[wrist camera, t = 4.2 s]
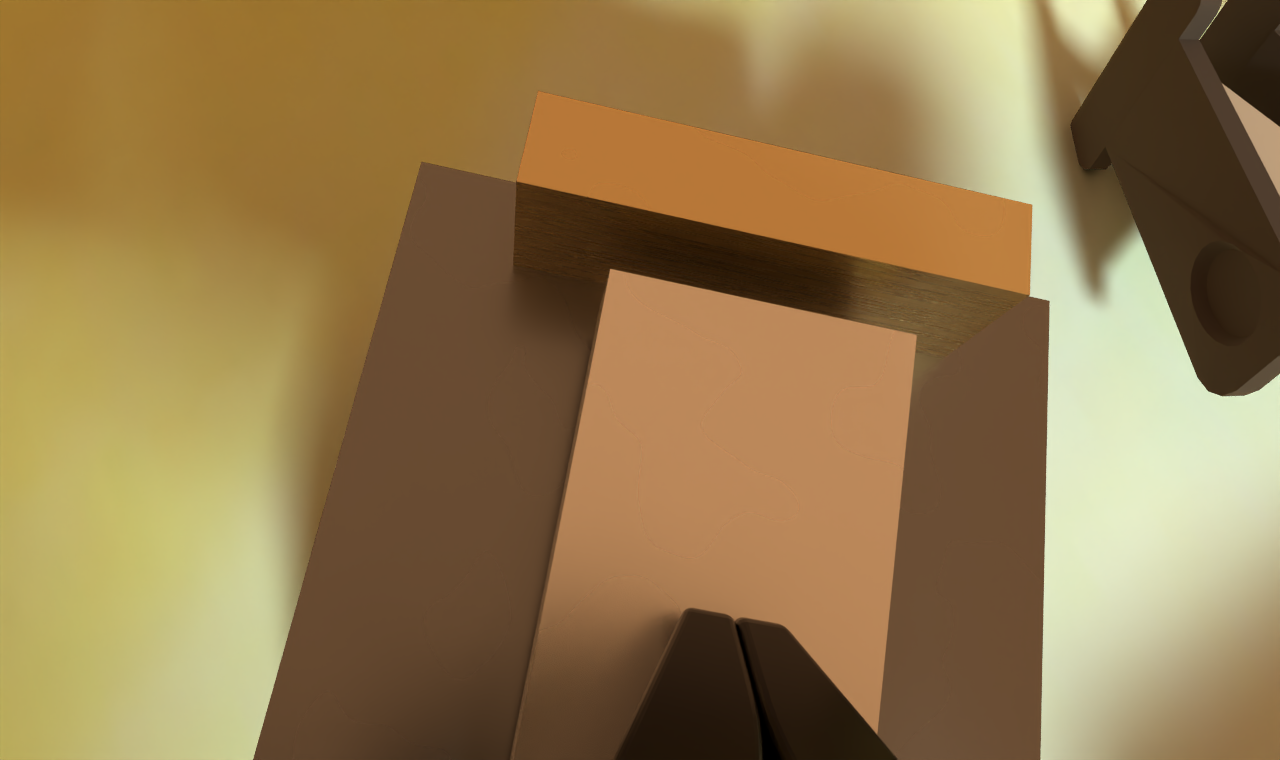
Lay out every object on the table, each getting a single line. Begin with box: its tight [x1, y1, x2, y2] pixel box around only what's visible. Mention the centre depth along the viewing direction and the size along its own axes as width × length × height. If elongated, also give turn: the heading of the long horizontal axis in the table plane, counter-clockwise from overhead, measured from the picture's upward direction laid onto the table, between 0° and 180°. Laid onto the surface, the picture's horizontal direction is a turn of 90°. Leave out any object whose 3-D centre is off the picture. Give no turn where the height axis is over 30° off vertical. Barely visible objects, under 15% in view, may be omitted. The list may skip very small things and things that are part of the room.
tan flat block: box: [510, 269, 917, 760], centre depth 8 cm, size 8×3×1 cm, turn 170°
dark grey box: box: [253, 91, 1049, 760], centre depth 11 cm, size 9×8×8 cm
